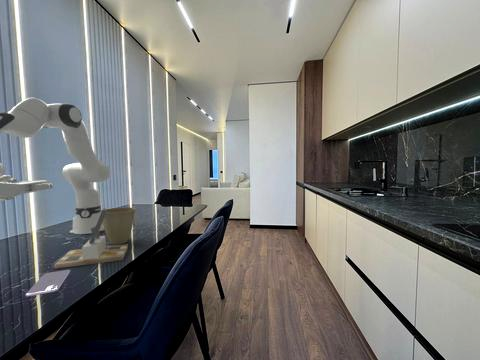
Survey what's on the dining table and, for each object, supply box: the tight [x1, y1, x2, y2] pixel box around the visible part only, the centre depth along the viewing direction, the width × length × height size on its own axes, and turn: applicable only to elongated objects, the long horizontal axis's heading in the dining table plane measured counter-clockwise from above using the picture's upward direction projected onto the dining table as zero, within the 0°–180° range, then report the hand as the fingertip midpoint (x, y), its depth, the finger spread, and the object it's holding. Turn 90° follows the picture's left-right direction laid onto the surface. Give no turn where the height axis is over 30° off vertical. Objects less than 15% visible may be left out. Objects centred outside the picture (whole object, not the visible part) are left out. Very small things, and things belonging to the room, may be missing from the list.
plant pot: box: [100, 206, 136, 246], centre depth 110 cm, size 15×15×16 cm
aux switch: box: [91, 226, 101, 239], centre depth 95 cm, size 4×1×5 cm, turn 19°
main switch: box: [88, 207, 108, 244], centre depth 89 cm, size 4×1×14 cm, turn 19°
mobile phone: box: [25, 269, 71, 297], centre depth 72 cm, size 8×1×15 cm
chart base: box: [53, 243, 129, 270], centre depth 92 cm, size 15×22×2 cm
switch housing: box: [81, 235, 107, 260], centre depth 92 cm, size 13×5×5 cm, turn 19°
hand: (51, 186), depth 84 cm, fingers closed
